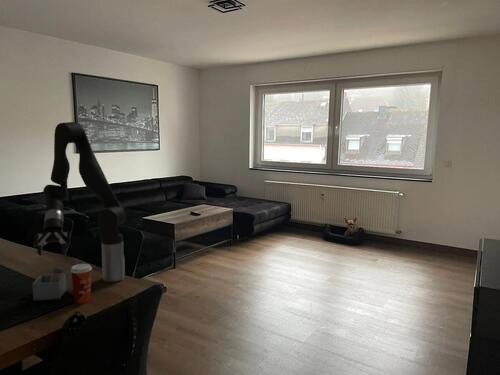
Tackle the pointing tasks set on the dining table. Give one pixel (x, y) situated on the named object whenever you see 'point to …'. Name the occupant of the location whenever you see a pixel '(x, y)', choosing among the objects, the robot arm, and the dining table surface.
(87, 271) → the paper cup
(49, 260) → the dining table surface
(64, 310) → the dining table surface
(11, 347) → the dining table surface
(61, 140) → the robot arm
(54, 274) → the birch peg
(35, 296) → the grey open box
